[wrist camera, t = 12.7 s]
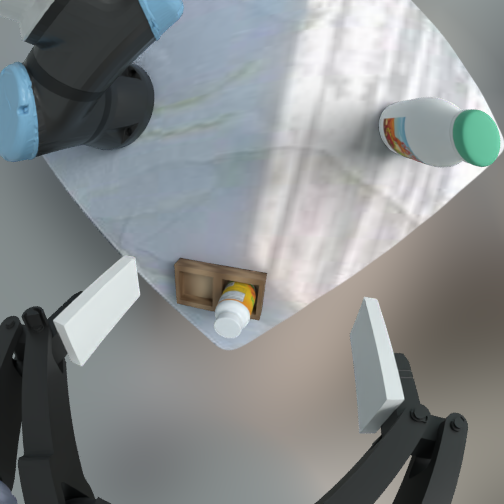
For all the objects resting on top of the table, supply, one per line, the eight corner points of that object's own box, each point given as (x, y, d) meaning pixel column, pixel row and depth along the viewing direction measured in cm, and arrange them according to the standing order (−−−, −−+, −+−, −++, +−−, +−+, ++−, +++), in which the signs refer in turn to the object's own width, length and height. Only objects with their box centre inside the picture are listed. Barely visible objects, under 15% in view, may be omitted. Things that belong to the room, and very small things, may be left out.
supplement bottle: (254, 306, 48) (243, 345, 39) (224, 300, 48) (208, 337, 40) (259, 280, 45) (248, 318, 37) (227, 274, 46) (209, 310, 37)
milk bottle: (377, 98, 30) (444, 78, 13) (426, 107, 29) (513, 105, 11) (376, 152, 34) (441, 179, 16) (424, 158, 32) (508, 193, 15)
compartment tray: (182, 295, 50) (176, 303, 48) (180, 257, 47) (174, 264, 44) (261, 311, 48) (259, 320, 46) (266, 273, 45) (264, 281, 43)
